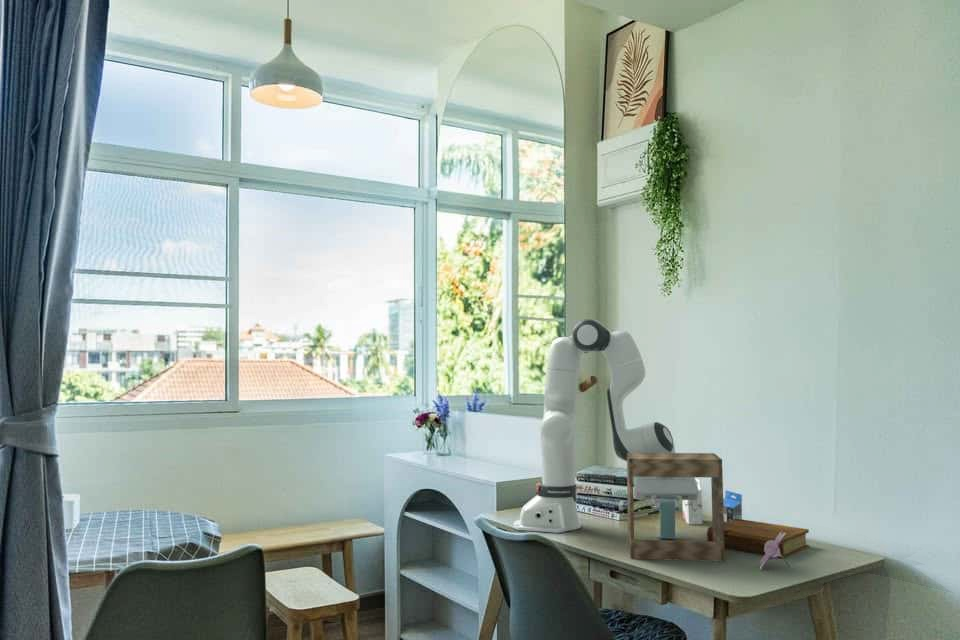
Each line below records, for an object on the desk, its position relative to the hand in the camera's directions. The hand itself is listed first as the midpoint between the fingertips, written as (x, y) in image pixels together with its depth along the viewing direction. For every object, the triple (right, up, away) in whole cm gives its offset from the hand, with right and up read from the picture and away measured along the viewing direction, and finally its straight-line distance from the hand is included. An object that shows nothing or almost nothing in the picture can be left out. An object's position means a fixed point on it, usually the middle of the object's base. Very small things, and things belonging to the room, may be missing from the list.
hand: (667, 509), depth 240 cm
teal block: (0, -9, -1) cm, 9 cm away
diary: (+24, -9, -11) cm, 28 cm away
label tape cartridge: (+22, -9, +9) cm, 26 cm away
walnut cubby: (-3, -8, -19) cm, 21 cm away
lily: (+20, -7, -34) cm, 40 cm away
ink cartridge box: (+14, -10, +22) cm, 28 cm away
